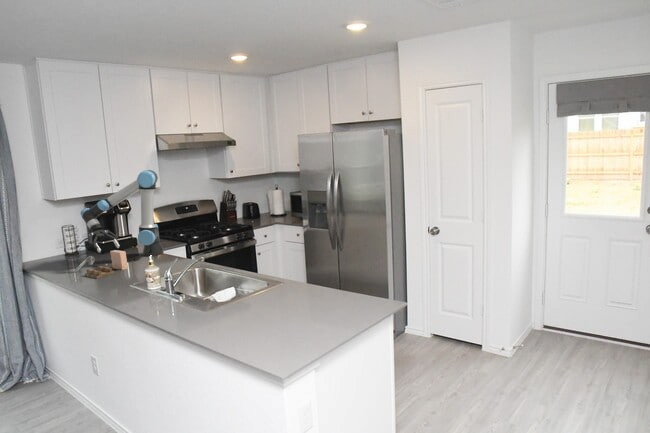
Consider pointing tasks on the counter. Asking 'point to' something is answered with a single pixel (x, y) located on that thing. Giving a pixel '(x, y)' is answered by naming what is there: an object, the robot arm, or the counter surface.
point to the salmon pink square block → (119, 259)
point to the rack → (99, 272)
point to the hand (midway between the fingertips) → (109, 249)
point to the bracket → (85, 262)
